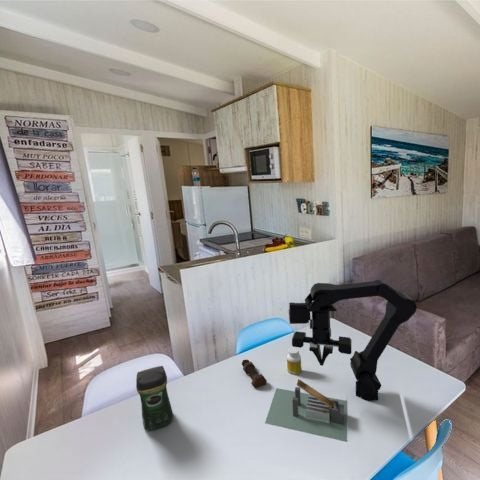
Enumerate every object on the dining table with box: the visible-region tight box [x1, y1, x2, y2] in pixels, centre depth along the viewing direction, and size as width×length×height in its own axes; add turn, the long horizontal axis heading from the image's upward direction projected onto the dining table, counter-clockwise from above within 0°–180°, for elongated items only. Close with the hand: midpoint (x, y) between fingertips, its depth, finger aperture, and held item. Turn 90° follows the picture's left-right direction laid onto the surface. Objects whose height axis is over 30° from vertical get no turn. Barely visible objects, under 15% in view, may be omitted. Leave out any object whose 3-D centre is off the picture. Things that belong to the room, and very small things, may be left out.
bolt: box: [241, 359, 268, 389], centre depth 114 cm, size 6×5×15 cm
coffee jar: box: [135, 365, 174, 432], centre depth 95 cm, size 10×8×19 cm
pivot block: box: [331, 400, 344, 425], centre depth 90 cm, size 4×4×4 cm
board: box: [264, 387, 348, 442], centre depth 94 cm, size 24×16×1 cm, turn 70°
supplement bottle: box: [286, 347, 302, 376], centre depth 114 cm, size 5×5×10 cm
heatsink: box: [306, 395, 331, 425], centre depth 93 cm, size 7×7×3 cm
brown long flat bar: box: [296, 379, 337, 409], centre depth 92 cm, size 14×3×1 cm
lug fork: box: [292, 386, 301, 417], centre depth 95 cm, size 2×6×6 cm, turn 160°
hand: (321, 364), depth 98 cm, fingers closed
